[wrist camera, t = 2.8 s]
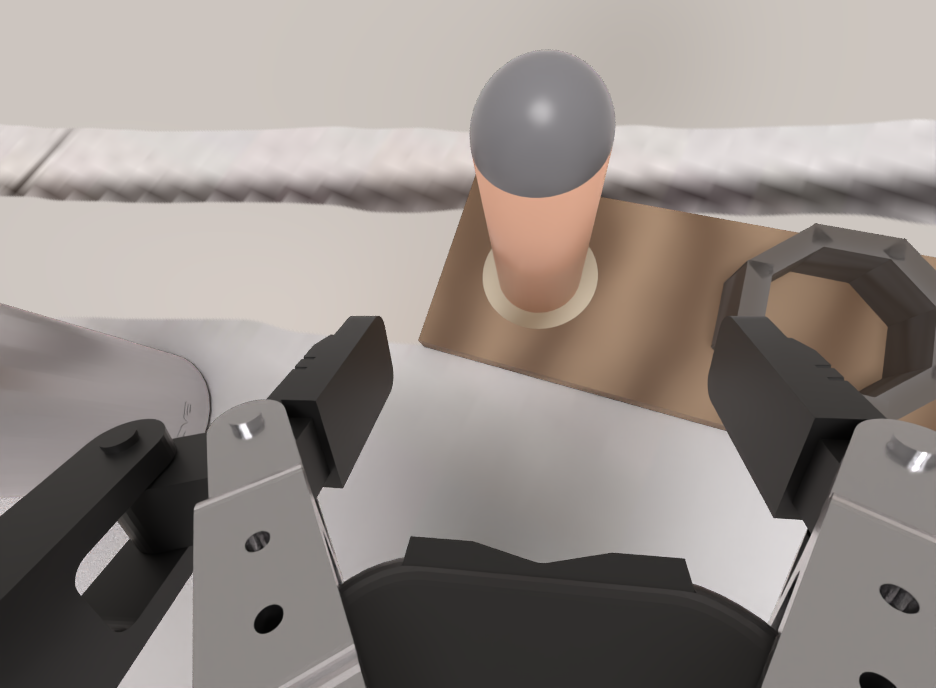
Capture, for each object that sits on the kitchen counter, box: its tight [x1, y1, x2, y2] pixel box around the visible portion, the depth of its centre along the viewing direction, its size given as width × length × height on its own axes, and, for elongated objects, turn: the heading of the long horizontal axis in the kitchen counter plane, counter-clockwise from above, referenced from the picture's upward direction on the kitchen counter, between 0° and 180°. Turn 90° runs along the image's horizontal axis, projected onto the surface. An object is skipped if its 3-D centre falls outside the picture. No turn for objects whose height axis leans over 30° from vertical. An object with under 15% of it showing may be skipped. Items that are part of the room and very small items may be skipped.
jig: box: [419, 175, 936, 431], centre depth 24 cm, size 28×12×4 cm, turn 73°
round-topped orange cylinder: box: [470, 50, 615, 313], centre depth 20 cm, size 5×5×14 cm
